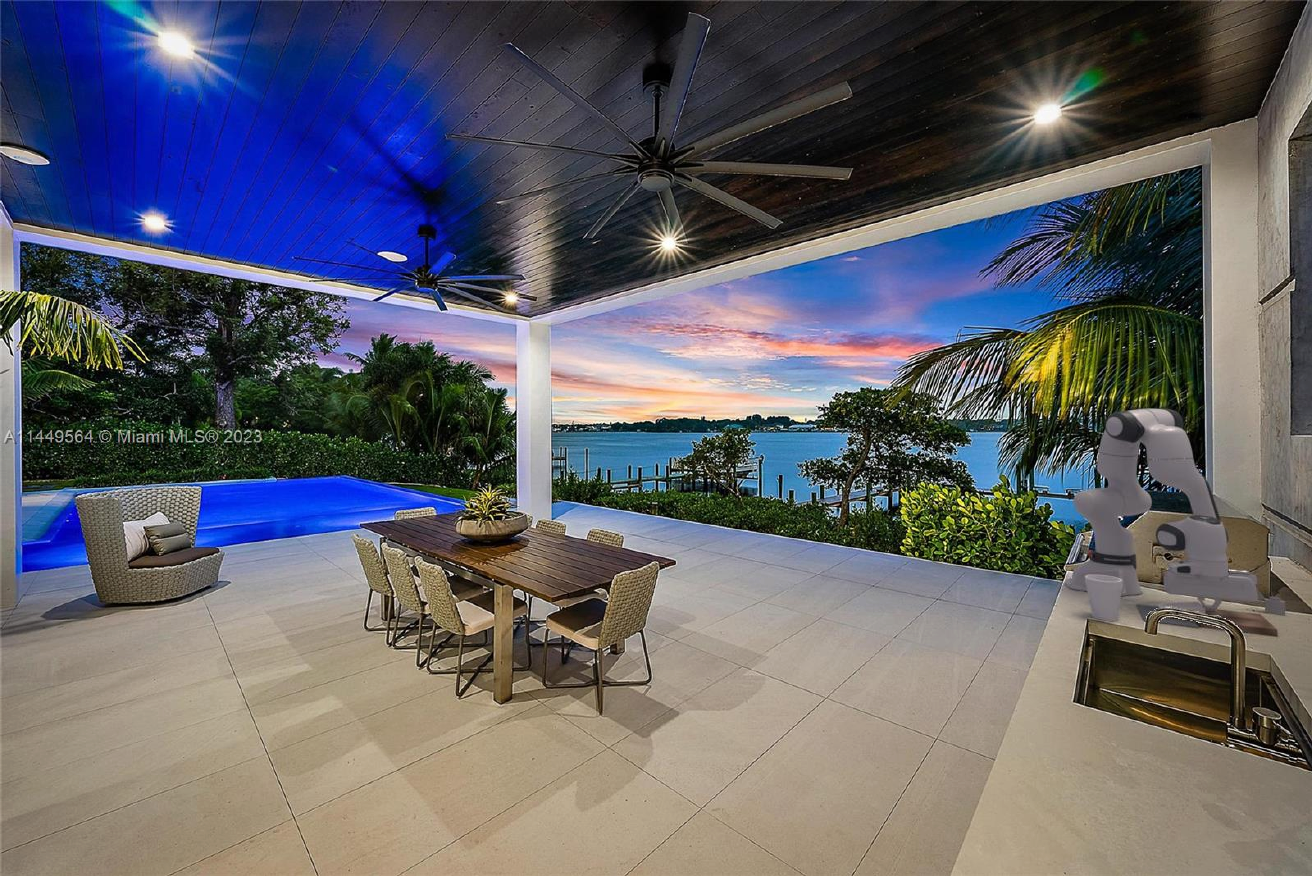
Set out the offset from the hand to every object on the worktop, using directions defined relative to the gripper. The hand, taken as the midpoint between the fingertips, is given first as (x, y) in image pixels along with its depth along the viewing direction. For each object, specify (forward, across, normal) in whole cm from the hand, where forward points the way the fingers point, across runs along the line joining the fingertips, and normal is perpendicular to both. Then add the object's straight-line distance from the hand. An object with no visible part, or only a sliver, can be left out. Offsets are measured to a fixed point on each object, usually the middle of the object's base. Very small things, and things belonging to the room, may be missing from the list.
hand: (1209, 611), depth 163 cm
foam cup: (+3, +26, +10) cm, 28 cm away
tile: (+2, +6, 0) cm, 7 cm away
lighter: (+3, -16, -18) cm, 24 cm away
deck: (+3, -4, 0) cm, 5 cm away
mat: (+3, +10, 0) cm, 11 cm away
